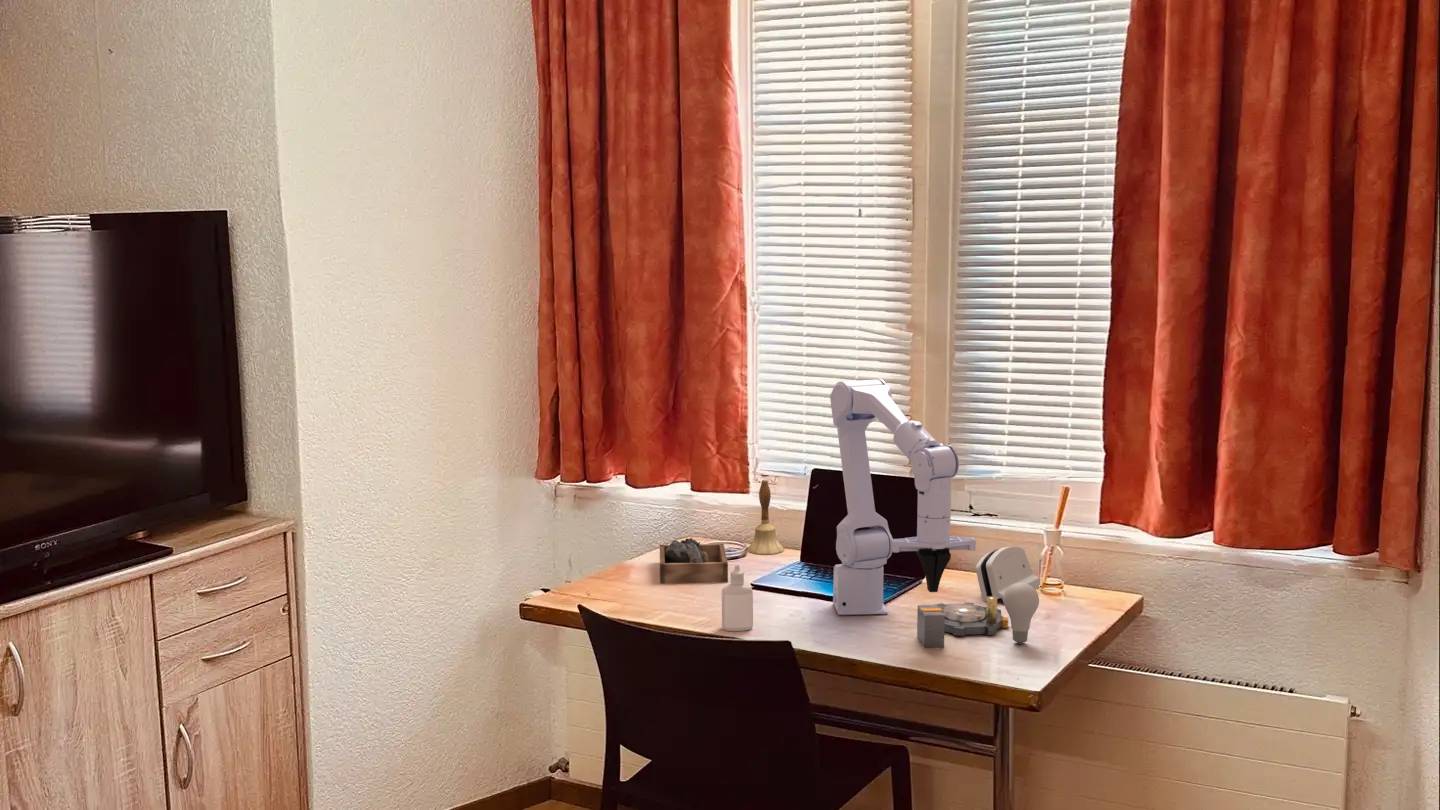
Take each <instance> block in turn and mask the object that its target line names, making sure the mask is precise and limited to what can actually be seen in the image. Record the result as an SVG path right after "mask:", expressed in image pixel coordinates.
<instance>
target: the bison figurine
mask: <svg viewBox="0 0 1440 810" xmlns="http://www.w3.org/2000/svg"><path fill="white" fill-rule="evenodd" d="M699 544H701V541H699V542H698V541H697V540H696V539H693V538H692V537H690V538H686V539H682V540H680V541H678V540H676V539H674V540H672V542H671V543H669V544H668V545H669V546H668V548H667V550H666V552H665V553H664V555H665V563H704V562H709V561H708V557H707V553H706V552H705V551H702V552H701V551H700V547H699Z"/></svg>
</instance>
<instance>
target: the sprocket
mask: <svg viewBox="0 0 1440 810" xmlns="http://www.w3.org/2000/svg"><path fill="white" fill-rule="evenodd" d="M951 604H952V603H949V604H948V603H947V604H945V603H942V602H941V603H940V602H939V603H935V604H933V605H938V607H939V608H941V610H942V612H943V611H944V607H945V606H948V605H951ZM963 604H971V605H976V606H980V607H982V608H984V609H985V620H984V621H982V622H968V623H960V622H956V621H951V620H947V619H945V628H944V633H945V632H946V633H949V634H953V636H957V637H959V636H960V637H965V635H968V636H969V635H986V636H991V635H992V636H993V635H997V631H998V630H1000V629H1002V628H1003V629H1004V628H1005V629H1006V628H1007V629H1008V627H1009V617H1008V616H1007V617H1005V616H1003V615H1002V609H999V608H998V599H997V597H994V596H988V597H987V601H986V606H982V605H977V604H975V603H973V602H964V603H963Z"/></svg>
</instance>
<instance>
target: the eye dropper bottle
mask: <svg viewBox="0 0 1440 810" xmlns="http://www.w3.org/2000/svg"><path fill="white" fill-rule="evenodd" d="M744 582H745V572H744V571H742V570H741V568H740V564H738V563H737V564H735V565H734V569H733V570H732V571H730V583H729V584H726V585H724V586H723V587H722V589H721V627H722V629H723V630H724V631H727V632H744V631H750V630H752V629H753V627H754V595H753V594H754V591H753V589H752V586H751V585H749V584H746V583H744Z"/></svg>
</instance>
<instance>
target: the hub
mask: <svg viewBox="0 0 1440 810" xmlns="http://www.w3.org/2000/svg"><path fill="white" fill-rule="evenodd" d="M950 604H951V605H948V606H945V607H944V611H943V613H944V615H945V619H947V620H951V621H956V622H960V623H968V622H982V621H984V620H985V609H984V608H982V607H983V606H982V607H980V606H981V605H978V606H976V605H977V604H974V605H971V604H964V603H950Z"/></svg>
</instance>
